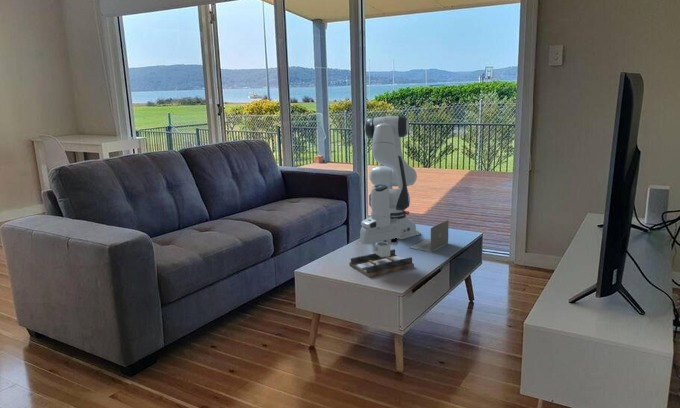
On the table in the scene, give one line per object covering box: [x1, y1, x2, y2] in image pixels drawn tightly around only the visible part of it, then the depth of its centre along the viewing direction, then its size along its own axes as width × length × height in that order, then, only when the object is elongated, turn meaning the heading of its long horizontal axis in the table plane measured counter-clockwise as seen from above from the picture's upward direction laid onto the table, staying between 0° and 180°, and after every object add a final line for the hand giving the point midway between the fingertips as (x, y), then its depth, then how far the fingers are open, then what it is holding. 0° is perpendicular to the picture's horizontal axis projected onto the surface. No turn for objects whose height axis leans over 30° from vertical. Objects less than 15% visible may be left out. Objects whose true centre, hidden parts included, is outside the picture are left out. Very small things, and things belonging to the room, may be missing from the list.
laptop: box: [409, 219, 450, 253], centre depth 257 cm, size 18×12×13 cm
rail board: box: [348, 248, 415, 278], centre depth 231 cm, size 24×18×4 cm
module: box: [371, 241, 391, 257], centre depth 229 cm, size 4×9×5 cm, turn 24°
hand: (381, 249), depth 230 cm, fingers closed on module, 5 cm apart
